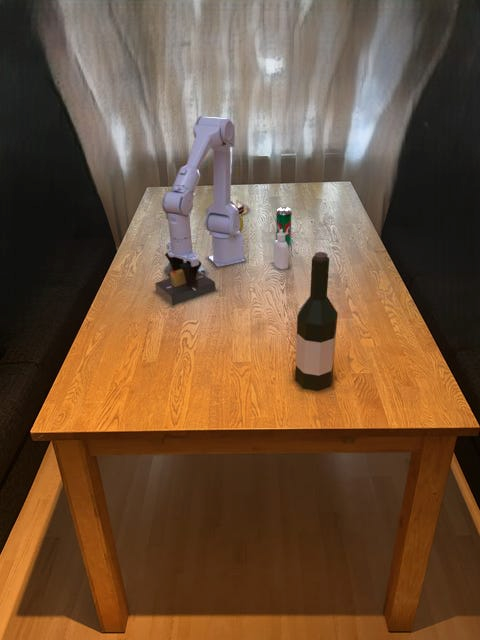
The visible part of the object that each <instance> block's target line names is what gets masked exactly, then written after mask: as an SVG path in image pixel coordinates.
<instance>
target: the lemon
mask: <svg viewBox="0 0 480 640" xmlns="http://www.w3.org/2000/svg"><path fill="white" fill-rule="evenodd" d="M242 216H243V215H240V214H239V219H240V229H239V232H240V233H241V231H243V228H244V218H243V217H242Z"/></svg>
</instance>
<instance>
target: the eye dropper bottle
mask: <svg viewBox="0 0 480 640" xmlns="http://www.w3.org/2000/svg"><path fill="white" fill-rule="evenodd" d="M273 265H274V267H276V268H277V269H279V270H286V269H288V268H289V245H288V244H287V242H286V241H285V233H283V230H282V229H281V230H280V233H278V234H277V240H276V239H275V240H274V242H273Z"/></svg>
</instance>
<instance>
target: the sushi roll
mask: <svg viewBox="0 0 480 640" xmlns="http://www.w3.org/2000/svg"><path fill="white" fill-rule="evenodd" d="M213 204H214V202H213V203H212V205H213ZM231 204H232V205H233V206H234V207H235V208H237V209H238V210H239V214H240V215H241V216H243V215H245V214H247V212H248V207H247V206H246V205H244V203H243V202H242V201H240V200H239V199H237V200H234V199H231Z"/></svg>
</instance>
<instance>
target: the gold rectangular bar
mask: <svg viewBox="0 0 480 640" xmlns="http://www.w3.org/2000/svg"><path fill="white" fill-rule="evenodd" d="M170 278H171V281H172V285H173V286H174V287H177V286H180V285H183V284H186V279H185V275H184V272H183V270H182V269H179V270H176V271H171V276H170ZM196 280H198V276H197V275H196Z"/></svg>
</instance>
